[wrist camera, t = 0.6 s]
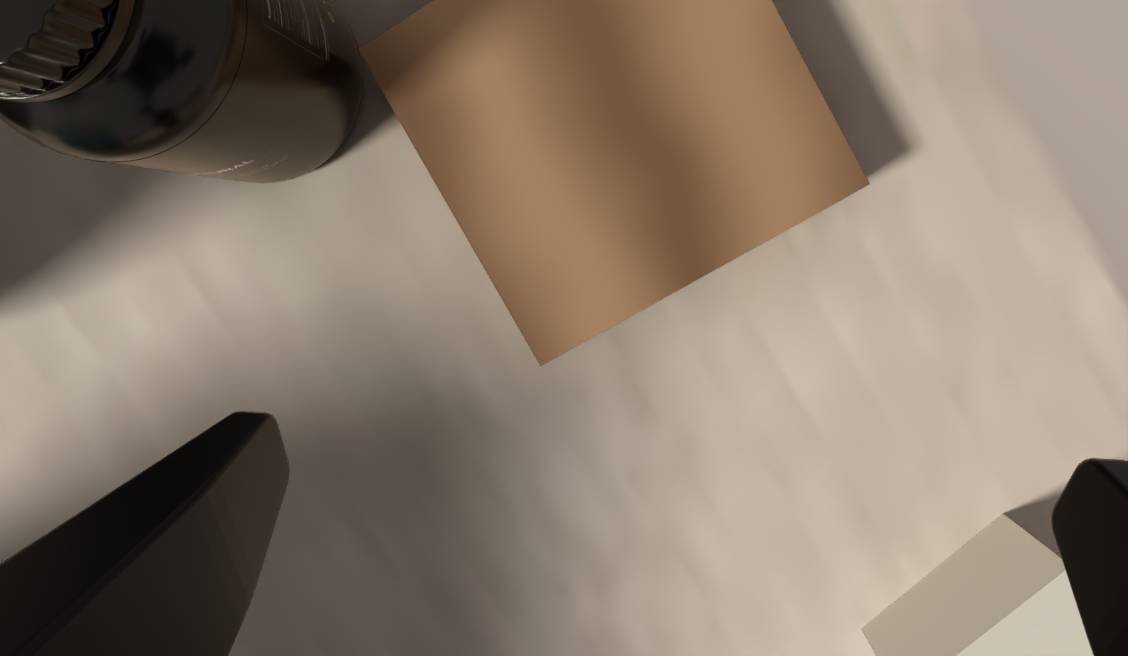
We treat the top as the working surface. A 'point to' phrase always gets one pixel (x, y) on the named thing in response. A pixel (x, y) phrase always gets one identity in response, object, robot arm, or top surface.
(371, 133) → the top surface
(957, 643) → the grey block
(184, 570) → the robot arm
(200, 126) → the supplement bottle
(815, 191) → the tan slab
